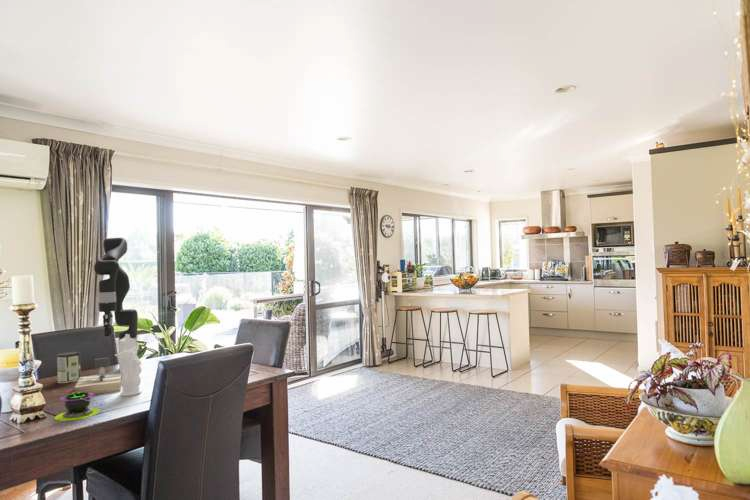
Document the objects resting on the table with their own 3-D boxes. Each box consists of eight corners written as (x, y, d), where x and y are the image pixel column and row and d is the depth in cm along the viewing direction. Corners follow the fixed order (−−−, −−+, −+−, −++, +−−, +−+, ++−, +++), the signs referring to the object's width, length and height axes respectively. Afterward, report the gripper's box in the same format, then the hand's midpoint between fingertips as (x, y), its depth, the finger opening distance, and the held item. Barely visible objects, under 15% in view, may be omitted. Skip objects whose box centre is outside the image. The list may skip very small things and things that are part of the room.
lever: (95, 377, 232) (94, 358, 233) (109, 375, 235) (109, 357, 235) (93, 381, 224) (93, 362, 224) (108, 379, 227) (108, 360, 227)
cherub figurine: (130, 397, 210) (129, 347, 210) (106, 397, 213) (104, 347, 213) (149, 390, 222) (147, 342, 222) (125, 389, 225) (124, 342, 225)
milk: (124, 378, 249) (123, 335, 249) (120, 376, 253) (118, 334, 253) (136, 375, 253) (135, 333, 253) (132, 374, 257) (131, 332, 258)
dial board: (79, 385, 236) (79, 376, 236) (121, 380, 244) (121, 371, 244) (74, 396, 215) (74, 387, 215) (120, 390, 223) (120, 381, 223)
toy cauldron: (105, 413, 188) (105, 385, 189) (61, 423, 177) (61, 393, 177) (92, 406, 198) (91, 379, 199) (49, 416, 187) (48, 387, 187)
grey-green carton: (67, 378, 252) (66, 351, 253) (85, 378, 251) (85, 351, 252) (52, 383, 242) (51, 355, 243) (71, 383, 241) (70, 354, 242)
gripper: (100, 301, 239) (100, 333, 239) (97, 302, 226) (97, 337, 226) (117, 300, 242) (117, 332, 242) (115, 301, 229) (115, 336, 229)
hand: (108, 334), depth 234 cm, fingers open, 8 cm apart
